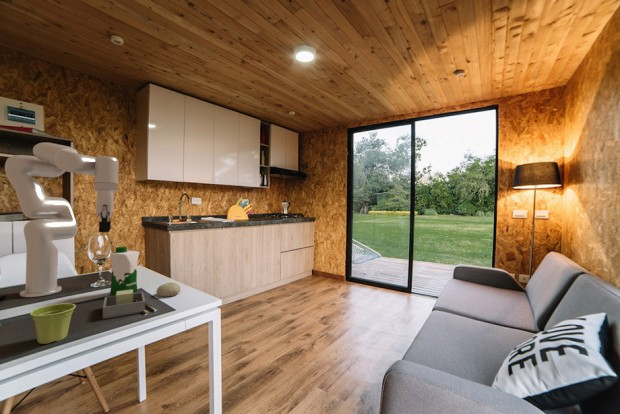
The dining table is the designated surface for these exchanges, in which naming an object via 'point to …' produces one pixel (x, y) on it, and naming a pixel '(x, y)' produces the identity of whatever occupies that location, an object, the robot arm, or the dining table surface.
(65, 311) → the plant pot
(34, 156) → the robot arm
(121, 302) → the olive block
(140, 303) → the tray
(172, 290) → the sea urchin shell
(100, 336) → the dining table surface
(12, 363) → the dining table surface
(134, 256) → the milk carton
